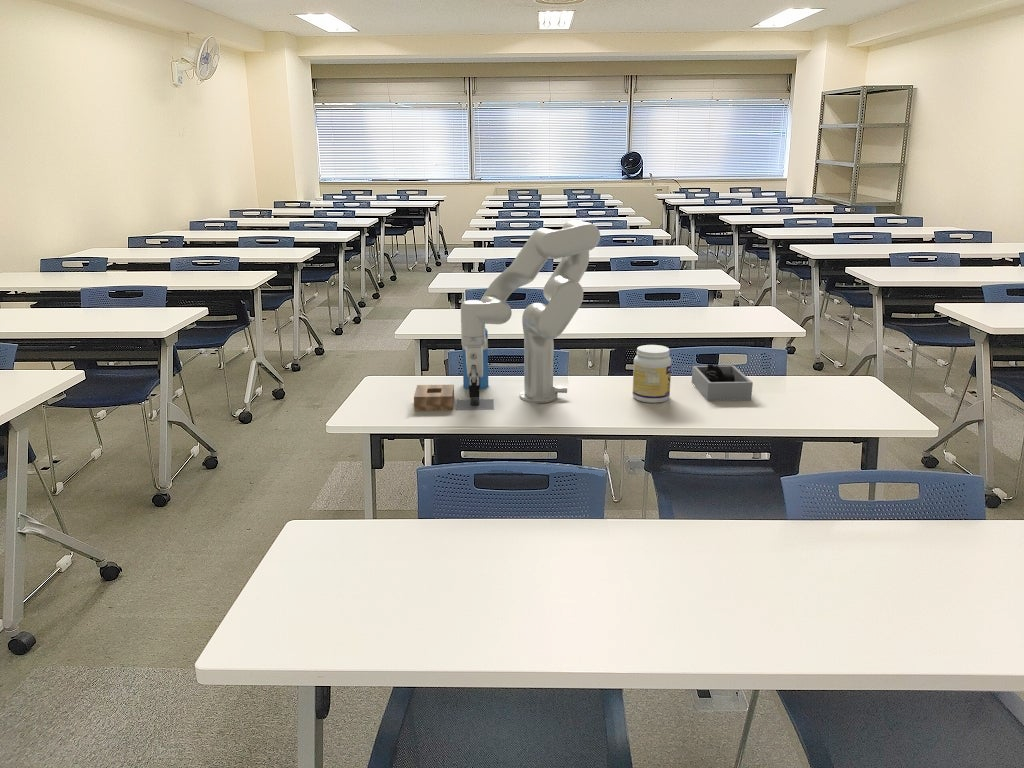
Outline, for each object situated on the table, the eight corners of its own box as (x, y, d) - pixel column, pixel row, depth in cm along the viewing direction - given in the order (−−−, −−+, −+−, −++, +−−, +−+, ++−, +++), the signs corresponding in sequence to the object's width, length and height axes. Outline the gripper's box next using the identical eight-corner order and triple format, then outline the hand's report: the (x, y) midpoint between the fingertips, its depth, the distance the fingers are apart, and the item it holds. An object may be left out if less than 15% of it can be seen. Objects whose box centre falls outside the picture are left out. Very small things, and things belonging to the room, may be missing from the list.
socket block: (454, 398, 245) (453, 384, 244) (452, 411, 234) (452, 396, 232) (417, 399, 245) (417, 385, 243) (414, 411, 233) (413, 396, 232)
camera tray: (732, 381, 261) (733, 365, 259) (751, 399, 242) (752, 382, 240) (691, 382, 260) (692, 366, 258) (707, 400, 242) (708, 383, 240)
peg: (479, 402, 240) (479, 370, 237) (479, 405, 237) (478, 373, 234) (470, 403, 240) (469, 370, 237) (470, 406, 237) (469, 373, 234)
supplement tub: (672, 404, 239) (675, 353, 234) (634, 404, 239) (637, 353, 234) (665, 392, 251) (668, 343, 245) (629, 391, 251) (631, 343, 246)
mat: (493, 400, 243) (493, 399, 243) (493, 410, 234) (493, 409, 234) (457, 400, 243) (457, 399, 243) (455, 411, 234) (455, 410, 234)
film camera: (734, 399, 243) (737, 373, 240) (704, 397, 245) (706, 371, 242) (731, 385, 257) (733, 360, 255) (702, 383, 259) (704, 359, 256)
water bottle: (458, 384, 260) (456, 314, 252) (483, 380, 264) (481, 312, 256) (468, 392, 252) (466, 320, 244) (493, 388, 255) (492, 317, 248)
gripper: (485, 347, 224) (486, 401, 229) (485, 333, 240) (486, 383, 246) (460, 347, 224) (462, 401, 229) (462, 333, 240) (463, 384, 245)
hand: (474, 392), depth 237 cm, fingers open, 8 cm apart
